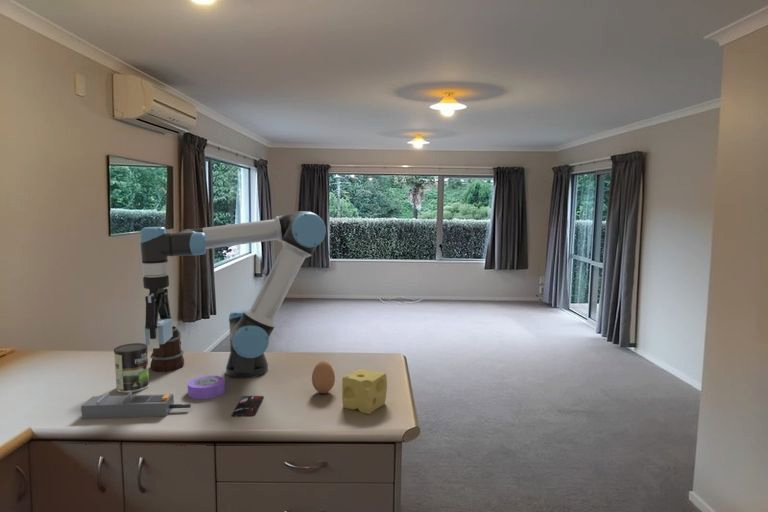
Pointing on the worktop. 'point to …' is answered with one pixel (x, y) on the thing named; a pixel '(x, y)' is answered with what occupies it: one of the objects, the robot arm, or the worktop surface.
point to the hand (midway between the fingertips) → (160, 343)
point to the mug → (168, 354)
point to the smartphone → (248, 406)
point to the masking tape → (206, 387)
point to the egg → (323, 377)
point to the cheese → (364, 390)
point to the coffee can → (131, 367)
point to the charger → (162, 331)
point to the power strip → (129, 406)
